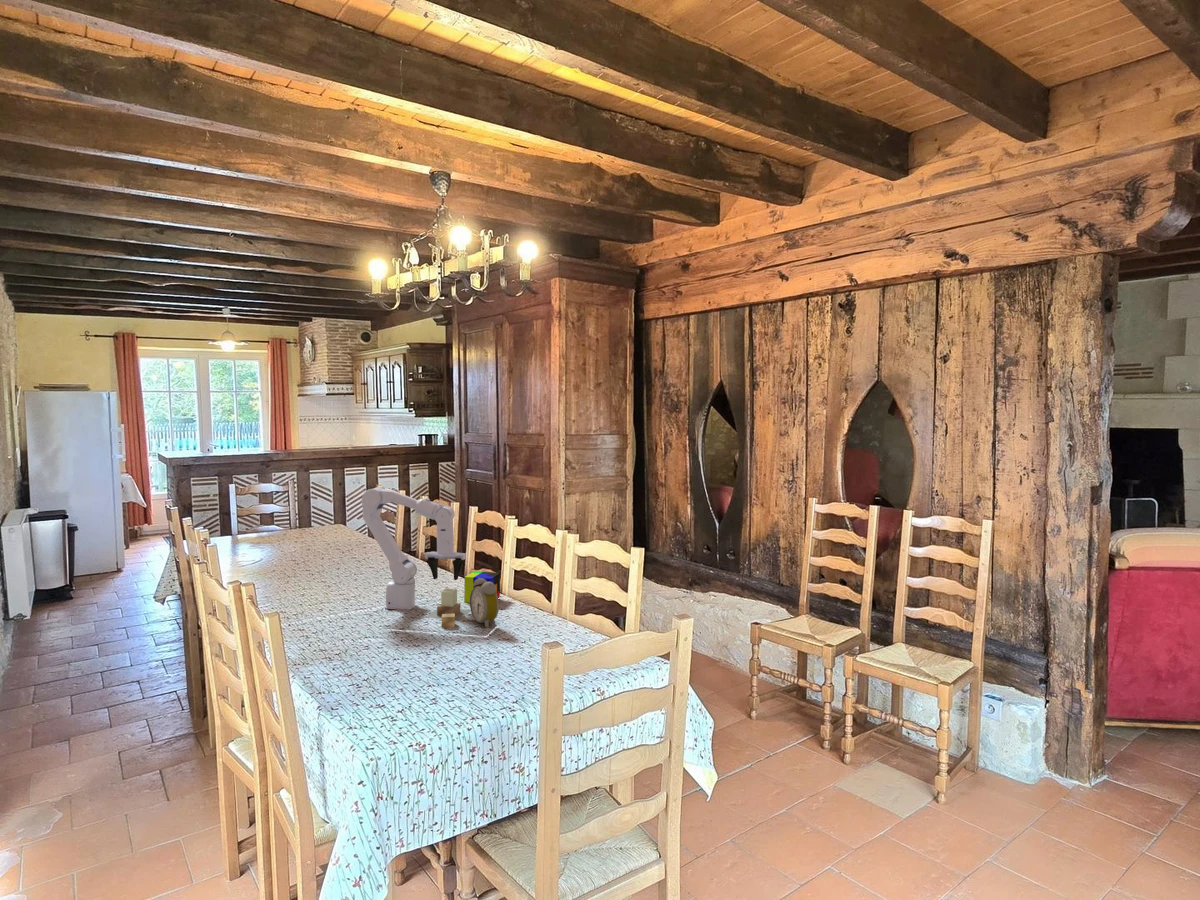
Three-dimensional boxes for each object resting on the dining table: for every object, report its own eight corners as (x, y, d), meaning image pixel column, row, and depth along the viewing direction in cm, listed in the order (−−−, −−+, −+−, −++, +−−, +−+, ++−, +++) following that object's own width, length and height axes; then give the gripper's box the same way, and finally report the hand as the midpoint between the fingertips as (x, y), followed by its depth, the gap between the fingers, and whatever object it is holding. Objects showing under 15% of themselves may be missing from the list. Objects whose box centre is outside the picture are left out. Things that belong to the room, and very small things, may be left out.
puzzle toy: (490, 606, 254) (490, 578, 254) (464, 604, 256) (464, 576, 256) (499, 599, 264) (500, 572, 264) (474, 597, 266) (474, 571, 266)
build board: (424, 618, 237) (424, 617, 237) (439, 609, 248) (439, 607, 248) (459, 621, 235) (459, 619, 235) (471, 611, 246) (471, 610, 246)
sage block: (441, 605, 240) (441, 591, 240) (446, 602, 244) (446, 588, 243) (452, 606, 239) (452, 592, 239) (457, 603, 243) (457, 589, 243)
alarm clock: (468, 622, 234) (469, 577, 233) (487, 619, 238) (488, 575, 237) (484, 631, 224) (484, 584, 224) (503, 628, 228) (504, 582, 227)
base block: (437, 615, 239) (437, 606, 239) (443, 610, 245) (443, 602, 245) (453, 616, 238) (454, 607, 238) (460, 611, 244) (460, 603, 244)
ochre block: (441, 629, 226) (441, 617, 225) (442, 626, 229) (442, 613, 229) (454, 629, 226) (454, 616, 226) (454, 625, 230) (454, 613, 230)
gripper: (421, 542, 246) (421, 580, 247) (460, 543, 244) (461, 582, 245) (429, 538, 253) (429, 576, 254) (467, 539, 251) (468, 577, 251)
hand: (445, 579), depth 250 cm, fingers open, 7 cm apart
